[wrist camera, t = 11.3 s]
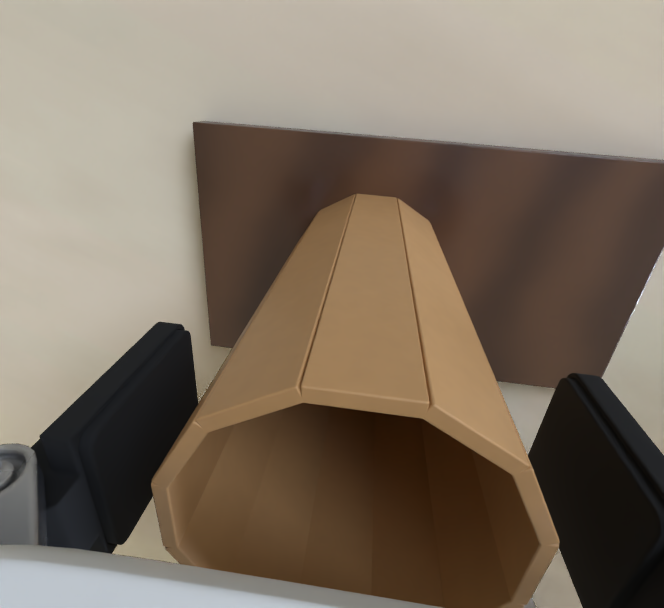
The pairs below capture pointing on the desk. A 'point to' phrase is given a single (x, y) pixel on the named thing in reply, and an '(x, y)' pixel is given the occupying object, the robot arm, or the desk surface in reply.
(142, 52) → the desk surface
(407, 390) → the paper cup
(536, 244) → the serving board
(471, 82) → the desk surface
